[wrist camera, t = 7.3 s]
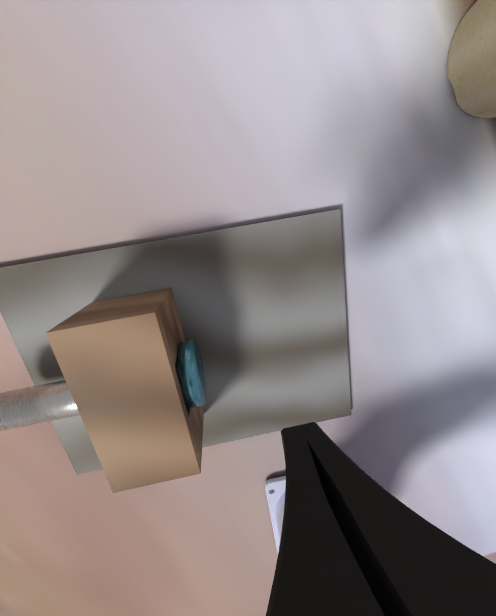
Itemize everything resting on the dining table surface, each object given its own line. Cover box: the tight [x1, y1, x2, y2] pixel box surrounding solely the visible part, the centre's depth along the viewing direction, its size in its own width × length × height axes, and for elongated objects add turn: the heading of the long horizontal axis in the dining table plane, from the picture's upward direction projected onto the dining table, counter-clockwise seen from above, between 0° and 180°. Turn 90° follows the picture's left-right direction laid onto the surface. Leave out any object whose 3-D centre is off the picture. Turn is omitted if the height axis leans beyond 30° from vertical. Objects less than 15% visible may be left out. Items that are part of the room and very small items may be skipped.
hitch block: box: [0, 209, 351, 493], centre depth 17 cm, size 16×22×6 cm
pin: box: [0, 340, 206, 431], centre depth 17 cm, size 4×12×4 cm, turn 99°
